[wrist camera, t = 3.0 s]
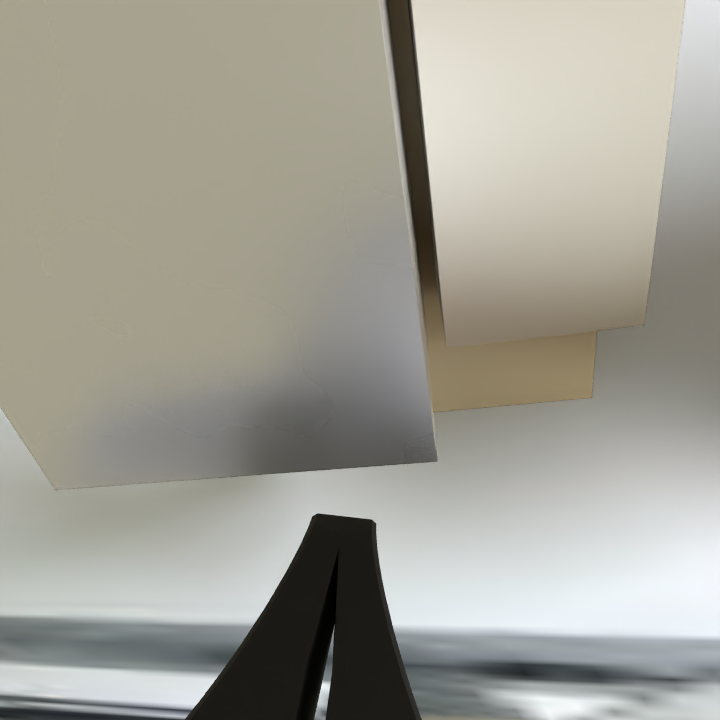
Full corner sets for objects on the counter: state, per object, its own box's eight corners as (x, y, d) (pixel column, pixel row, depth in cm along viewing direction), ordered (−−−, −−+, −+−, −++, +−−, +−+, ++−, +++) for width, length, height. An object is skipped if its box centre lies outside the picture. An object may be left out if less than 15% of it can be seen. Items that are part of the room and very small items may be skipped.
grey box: (423, 297, 10) (437, 461, 5) (77, 343, 11) (-140, 504, 7) (378, -82, 7) (325, -402, 2) (-82, 43, 8) (-643, -20, 4)
